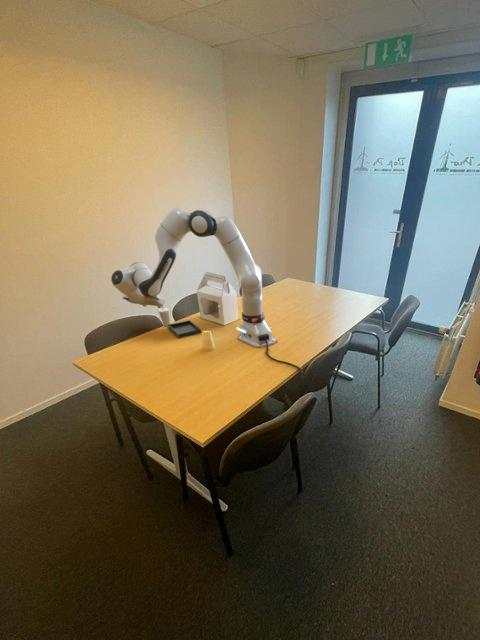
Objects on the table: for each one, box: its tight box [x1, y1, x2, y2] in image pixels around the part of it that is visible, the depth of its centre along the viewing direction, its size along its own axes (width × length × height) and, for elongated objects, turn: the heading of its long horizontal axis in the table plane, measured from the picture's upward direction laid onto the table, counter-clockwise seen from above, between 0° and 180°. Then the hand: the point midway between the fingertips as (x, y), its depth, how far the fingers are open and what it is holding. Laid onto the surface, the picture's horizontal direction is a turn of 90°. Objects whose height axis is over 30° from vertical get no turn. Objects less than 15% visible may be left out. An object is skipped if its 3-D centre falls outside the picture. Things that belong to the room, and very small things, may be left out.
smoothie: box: [157, 305, 171, 327], centre depth 179 cm, size 6×6×14 cm
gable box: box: [196, 271, 239, 326], centre depth 186 cm, size 22×13×28 cm, turn 55°
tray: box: [167, 319, 202, 339], centre depth 176 cm, size 17×14×2 cm
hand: (153, 306), depth 168 cm, fingers open, 8 cm apart
